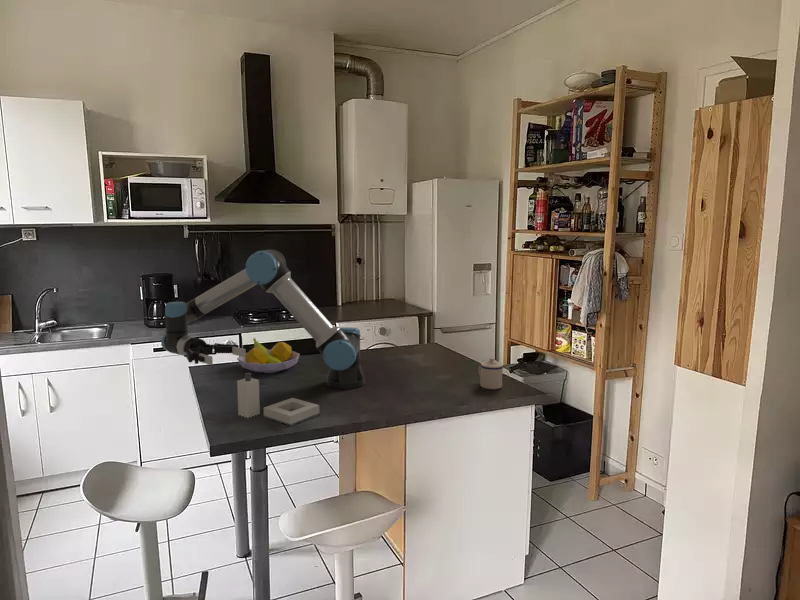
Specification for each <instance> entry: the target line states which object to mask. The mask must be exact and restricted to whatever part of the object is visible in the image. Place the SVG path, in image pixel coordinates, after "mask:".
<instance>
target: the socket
mask: <svg viewBox="0 0 800 600" xmlns="http://www.w3.org/2000/svg"><path fill="white" fill-rule="evenodd" d="M317 415H319V416H320V405H319V404H316V403H312V402H309V401H307V400H306V401H305V400H302V399H298V398H295V397H291V398H288V399H286V400H285V399H284V400H282V401H279V402H276V403H272V404H270V405H268V406H264V407H263V418H264V419H266V418H267V420H269V419H270V421H272V420H274V421H273V422H275V421H277V422H276V423H278V422H280V423H279V424H281V423H284V424H287V425H290V426H291V425H294V424H296V423H299V422H301V423H303V422H302V421H304V420H306V419H309V418H311V417H314V416H316V417H318V416H317ZM314 418H315V417H314ZM311 419H312V418H311ZM309 420H310V419H309ZM306 421H307V420H306ZM304 422H305V421H304ZM284 424H283V425H284ZM299 424H300V423H299ZM287 425H286V426H287ZM296 425H297V424H296ZM290 426H289V427H290ZM294 426H295V425H294ZM291 427H292V426H291Z"/></svg>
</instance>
